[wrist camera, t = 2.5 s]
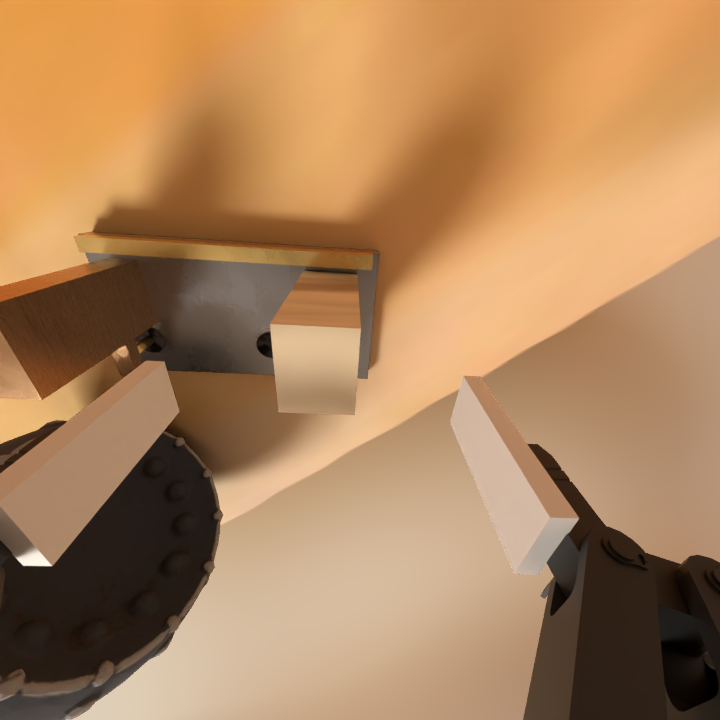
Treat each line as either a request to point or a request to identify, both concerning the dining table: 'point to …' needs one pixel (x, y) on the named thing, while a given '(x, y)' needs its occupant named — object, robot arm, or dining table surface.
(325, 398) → the block
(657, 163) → the dining table surface
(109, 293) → the grey board with posts
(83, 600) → the dark studded bowl
